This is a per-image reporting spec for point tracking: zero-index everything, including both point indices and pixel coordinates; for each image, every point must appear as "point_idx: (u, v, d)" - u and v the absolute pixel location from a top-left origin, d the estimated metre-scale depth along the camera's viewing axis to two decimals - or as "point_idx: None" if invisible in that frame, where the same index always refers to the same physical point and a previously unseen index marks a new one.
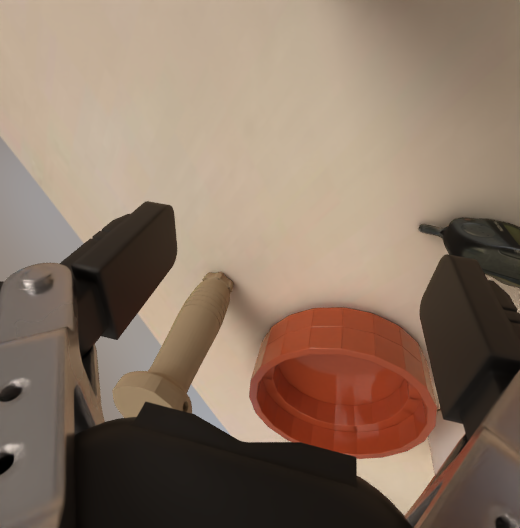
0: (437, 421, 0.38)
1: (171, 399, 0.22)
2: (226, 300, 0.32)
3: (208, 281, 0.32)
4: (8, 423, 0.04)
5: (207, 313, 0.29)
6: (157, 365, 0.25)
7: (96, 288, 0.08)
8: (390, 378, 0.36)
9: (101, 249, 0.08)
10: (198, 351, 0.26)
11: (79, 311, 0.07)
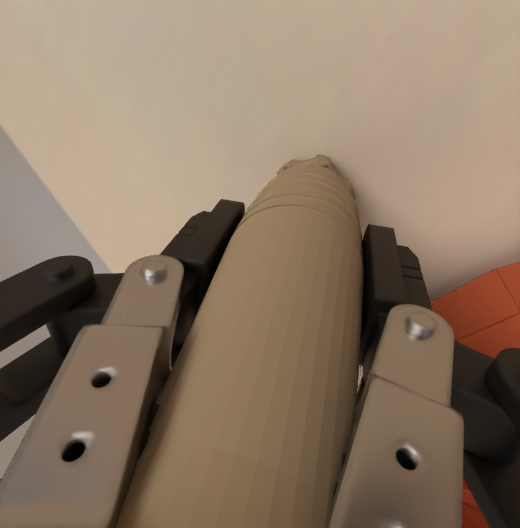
0: None
1: None
2: (357, 216, 0.11)
3: (302, 166, 0.12)
4: (91, 410, 0.04)
5: (338, 232, 0.08)
6: (165, 477, 0.04)
7: (197, 280, 0.08)
8: None
9: (198, 243, 0.08)
10: (350, 374, 0.06)
11: (187, 301, 0.08)
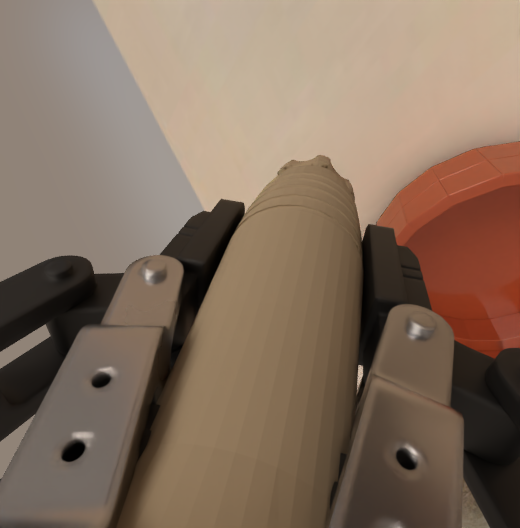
0: None
1: None
2: (357, 217, 0.11)
3: (302, 166, 0.12)
4: (90, 410, 0.04)
5: (338, 232, 0.08)
6: (165, 476, 0.04)
7: (197, 280, 0.08)
8: None
9: (198, 243, 0.08)
10: (349, 373, 0.06)
11: (187, 301, 0.08)
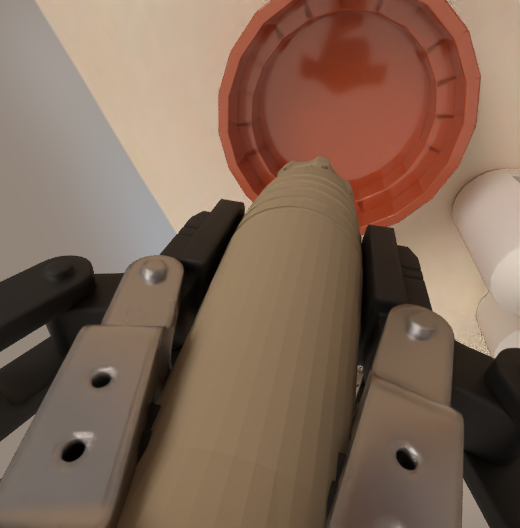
0: (469, 189, 0.29)
1: None
2: None
3: (302, 167, 0.12)
4: (90, 410, 0.04)
5: (337, 234, 0.08)
6: (163, 479, 0.04)
7: (197, 280, 0.08)
8: (407, 119, 0.27)
9: (198, 243, 0.08)
10: (349, 376, 0.06)
11: (187, 301, 0.08)
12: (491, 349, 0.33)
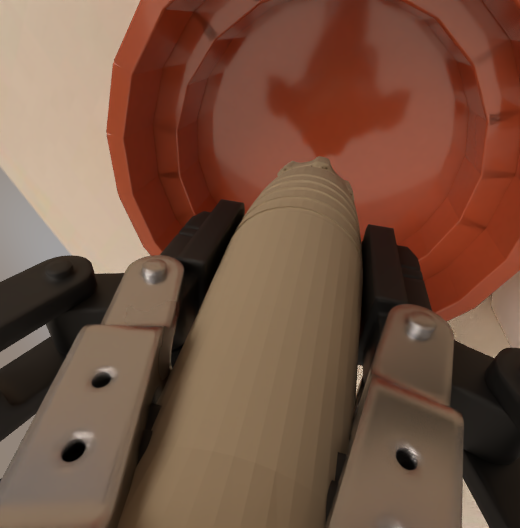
0: None
1: None
2: None
3: (302, 168, 0.12)
4: (90, 410, 0.04)
5: (337, 234, 0.08)
6: (163, 479, 0.04)
7: (197, 280, 0.08)
8: (429, 169, 0.17)
9: (198, 243, 0.08)
10: (349, 376, 0.06)
11: (187, 301, 0.08)
12: None
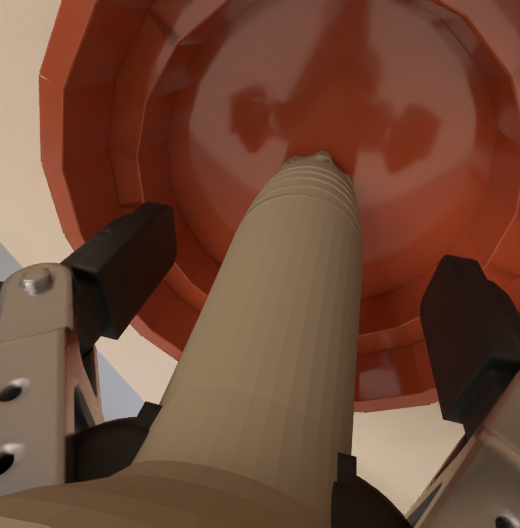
0: None
1: None
2: None
3: (305, 160, 0.12)
4: (8, 423, 0.04)
5: (339, 218, 0.09)
6: (192, 412, 0.04)
7: (96, 288, 0.08)
8: (445, 200, 0.14)
9: (101, 249, 0.08)
10: (350, 340, 0.06)
11: (79, 311, 0.07)
12: None
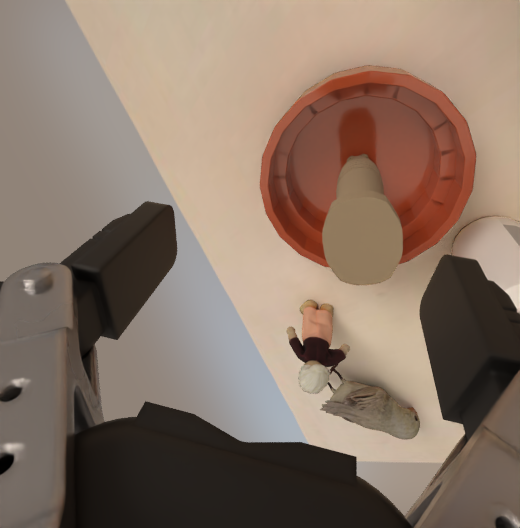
0: (466, 232, 0.34)
1: (397, 216, 0.20)
2: None
3: (358, 157, 0.31)
4: (8, 423, 0.04)
5: (376, 175, 0.27)
6: None
7: (96, 288, 0.08)
8: (415, 175, 0.33)
9: (101, 249, 0.08)
10: None
11: (79, 311, 0.07)
12: None
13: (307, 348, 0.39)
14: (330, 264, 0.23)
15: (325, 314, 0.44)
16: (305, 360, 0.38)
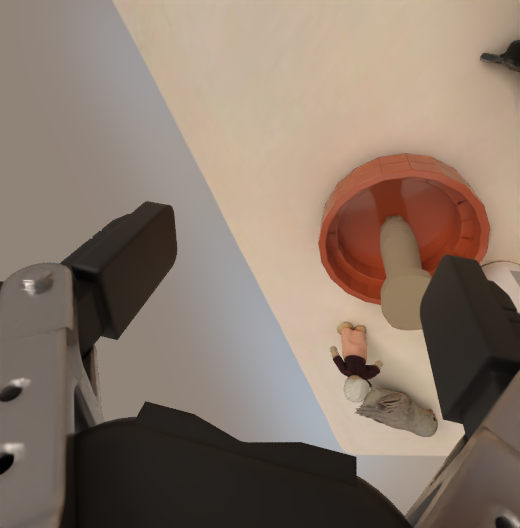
0: None
1: None
2: None
3: (396, 220, 0.39)
4: (8, 423, 0.04)
5: (413, 240, 0.36)
6: None
7: (96, 288, 0.08)
8: (440, 231, 0.41)
9: (101, 249, 0.08)
10: None
11: (79, 311, 0.07)
12: None
13: (349, 365, 0.48)
14: (385, 316, 0.31)
15: (360, 334, 0.52)
16: (347, 374, 0.47)
